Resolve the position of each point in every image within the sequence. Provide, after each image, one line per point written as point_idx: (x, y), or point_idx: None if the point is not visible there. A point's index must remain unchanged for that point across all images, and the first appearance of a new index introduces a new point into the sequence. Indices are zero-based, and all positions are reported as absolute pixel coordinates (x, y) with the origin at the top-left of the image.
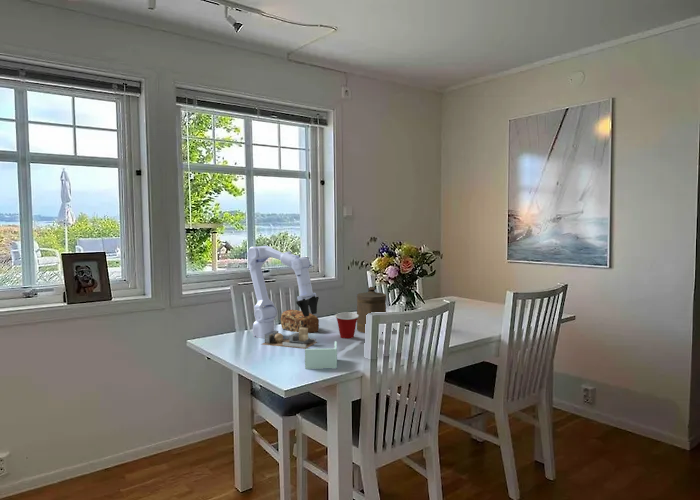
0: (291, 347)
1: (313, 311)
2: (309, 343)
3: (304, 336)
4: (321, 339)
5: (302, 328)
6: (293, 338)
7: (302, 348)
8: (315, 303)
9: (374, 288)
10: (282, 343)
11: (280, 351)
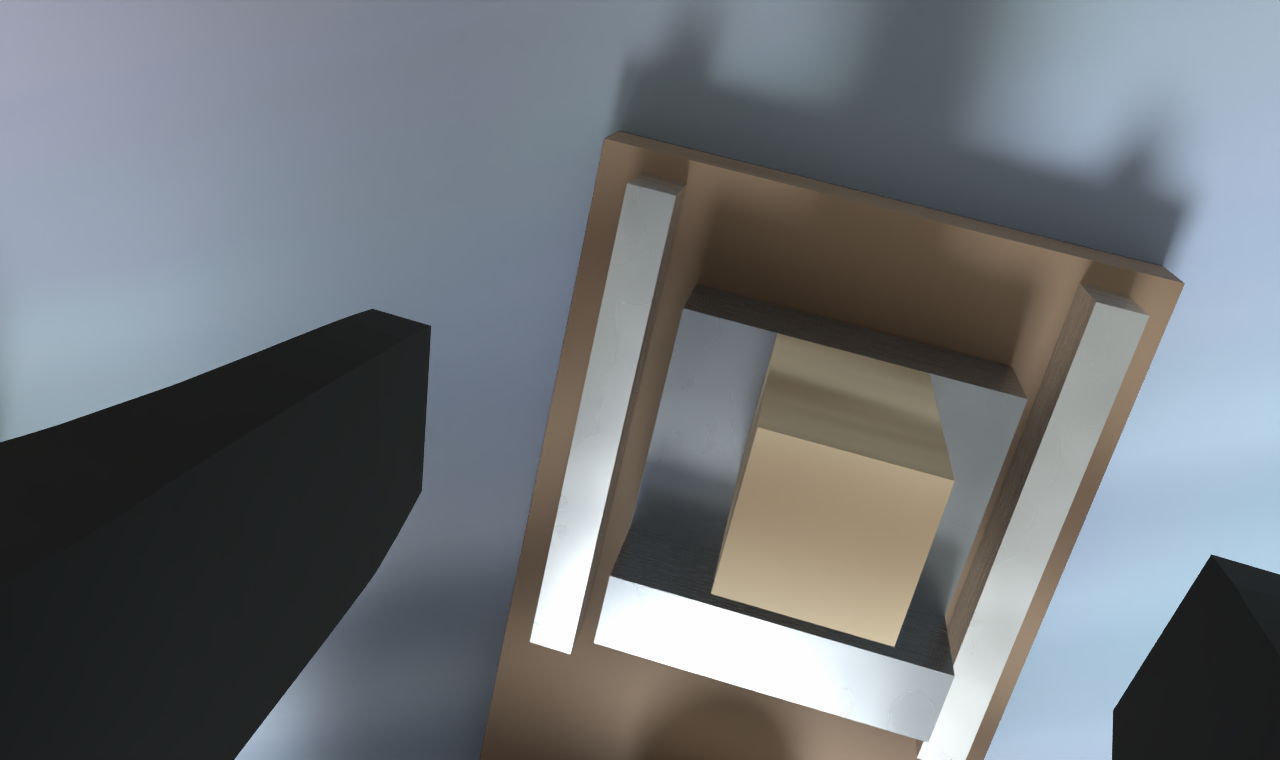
0: (1062, 569)
1: (373, 483)
2: (741, 284)
3: (933, 418)
4: (192, 147)
5: (819, 560)
6: (910, 629)
7: (1153, 350)
8: (55, 599)
9: None
10: (788, 754)
11: (1088, 705)
